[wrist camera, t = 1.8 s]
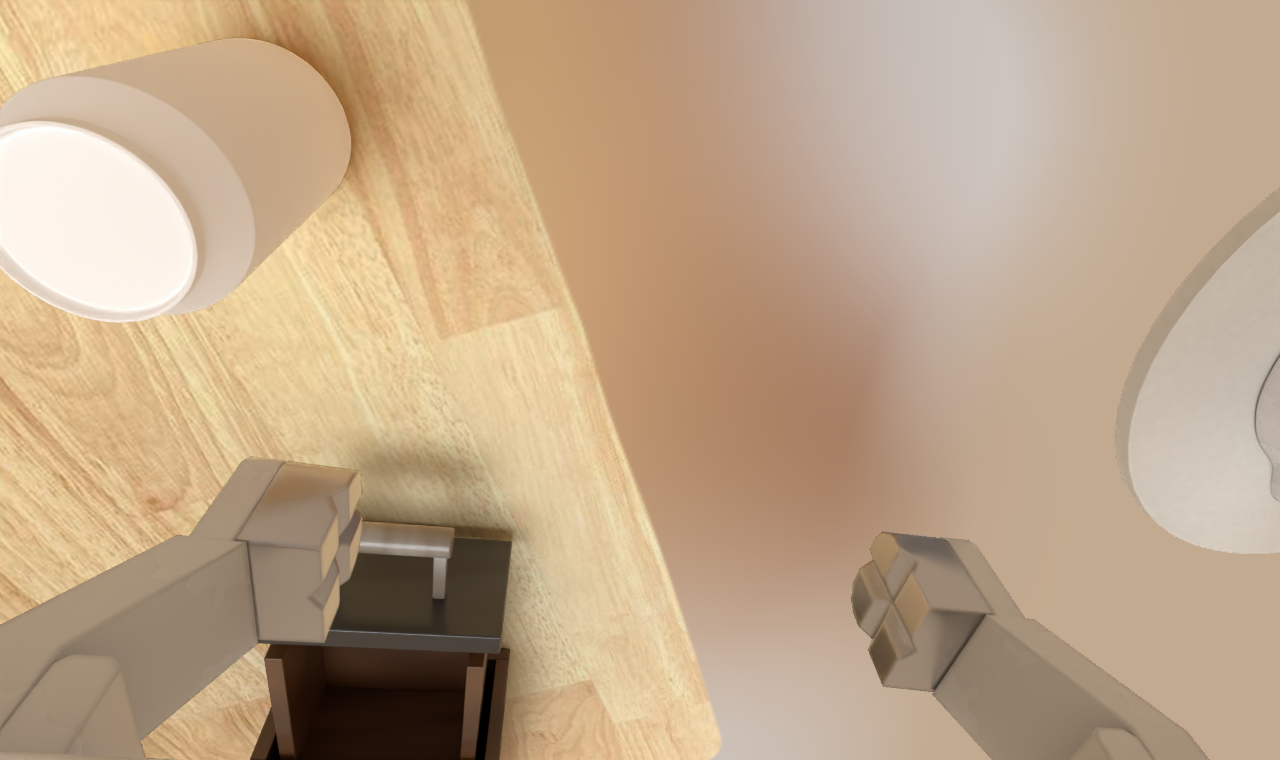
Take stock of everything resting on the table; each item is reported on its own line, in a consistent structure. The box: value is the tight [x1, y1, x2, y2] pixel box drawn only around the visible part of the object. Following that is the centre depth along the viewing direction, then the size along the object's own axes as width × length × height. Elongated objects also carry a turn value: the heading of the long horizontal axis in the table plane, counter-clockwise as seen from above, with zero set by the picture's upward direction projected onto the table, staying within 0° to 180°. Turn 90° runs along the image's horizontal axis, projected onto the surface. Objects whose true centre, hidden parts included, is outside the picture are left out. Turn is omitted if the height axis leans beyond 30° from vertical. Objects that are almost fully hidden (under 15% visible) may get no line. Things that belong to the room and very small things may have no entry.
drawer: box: [258, 521, 512, 760], centre depth 36 cm, size 17×11×6 cm
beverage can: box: [0, 38, 351, 322], centre depth 21 cm, size 6×6×12 cm
